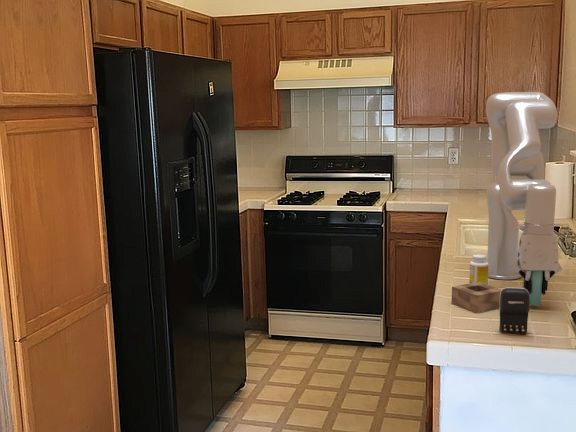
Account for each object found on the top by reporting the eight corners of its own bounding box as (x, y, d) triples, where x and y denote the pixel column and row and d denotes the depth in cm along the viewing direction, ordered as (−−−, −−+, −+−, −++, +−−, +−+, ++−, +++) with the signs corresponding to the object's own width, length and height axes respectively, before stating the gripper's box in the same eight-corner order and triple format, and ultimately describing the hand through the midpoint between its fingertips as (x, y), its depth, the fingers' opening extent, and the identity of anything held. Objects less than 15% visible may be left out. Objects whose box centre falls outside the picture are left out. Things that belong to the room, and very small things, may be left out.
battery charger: (499, 334, 157) (501, 290, 155) (497, 329, 160) (499, 286, 159) (529, 336, 155) (531, 291, 153) (526, 331, 159) (529, 287, 157)
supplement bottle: (490, 287, 197) (492, 255, 196) (482, 291, 193) (483, 258, 192) (474, 284, 201) (475, 252, 199) (465, 288, 197) (466, 256, 195)
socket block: (477, 298, 187) (478, 281, 186) (503, 307, 178) (503, 290, 177) (451, 303, 182) (451, 286, 181) (476, 313, 173) (477, 295, 172)
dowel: (533, 300, 179) (536, 259, 177) (543, 304, 176) (546, 262, 174) (525, 302, 178) (527, 261, 176) (534, 306, 175) (537, 264, 173)
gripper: (512, 232, 170) (508, 297, 173) (575, 231, 169) (570, 297, 172) (504, 226, 177) (501, 288, 181) (564, 225, 176) (560, 288, 180)
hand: (535, 292), depth 177 cm, fingers closed on dowel, 3 cm apart
